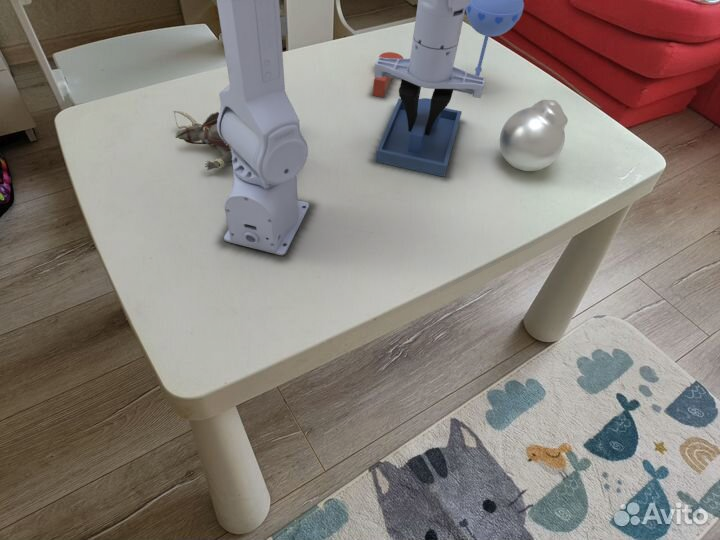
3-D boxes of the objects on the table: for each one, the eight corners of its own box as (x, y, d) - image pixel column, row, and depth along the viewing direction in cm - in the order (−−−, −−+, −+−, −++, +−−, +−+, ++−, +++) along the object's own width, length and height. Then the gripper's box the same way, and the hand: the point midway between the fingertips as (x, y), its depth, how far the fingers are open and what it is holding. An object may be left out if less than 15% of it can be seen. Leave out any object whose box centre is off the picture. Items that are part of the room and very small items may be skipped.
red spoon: (390, 99, 86) (392, 82, 84) (365, 93, 87) (366, 77, 84) (404, 67, 93) (406, 51, 90) (380, 62, 93) (382, 46, 91)
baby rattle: (494, 106, 86) (528, -6, 72) (444, 95, 88) (467, -18, 74) (501, 81, 92) (534, -29, 78) (454, 70, 93) (477, -39, 79)
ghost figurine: (565, 182, 75) (593, 123, 67) (503, 185, 74) (524, 125, 66) (543, 143, 81) (566, 85, 73) (484, 146, 79) (502, 86, 72)
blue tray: (444, 177, 74) (446, 166, 73) (375, 161, 75) (376, 150, 74) (459, 122, 83) (461, 111, 81) (397, 109, 84) (398, 98, 83)
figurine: (146, 137, 68) (186, 71, 78) (159, 174, 72) (196, 106, 83) (297, 145, 66) (317, 77, 77) (301, 182, 71) (319, 113, 82)
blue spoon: (428, 156, 74) (431, 138, 72) (398, 149, 75) (400, 132, 72) (441, 115, 81) (444, 98, 78) (413, 109, 81) (416, 92, 79)
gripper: (496, 34, 66) (473, 124, 77) (387, 14, 68) (378, 104, 79) (490, 61, 62) (466, 152, 73) (373, 38, 64) (366, 131, 74)
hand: (420, 129), depth 75 cm, fingers closed on blue spoon, 2 cm apart
